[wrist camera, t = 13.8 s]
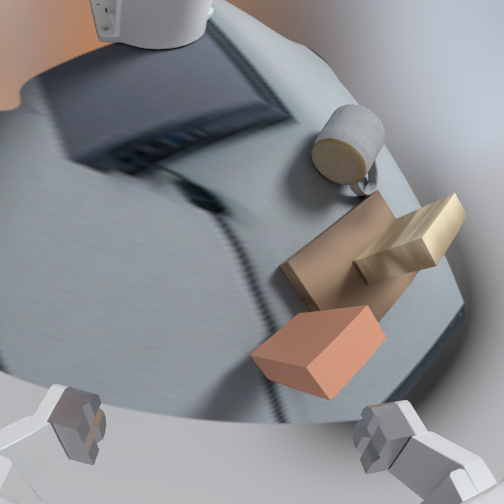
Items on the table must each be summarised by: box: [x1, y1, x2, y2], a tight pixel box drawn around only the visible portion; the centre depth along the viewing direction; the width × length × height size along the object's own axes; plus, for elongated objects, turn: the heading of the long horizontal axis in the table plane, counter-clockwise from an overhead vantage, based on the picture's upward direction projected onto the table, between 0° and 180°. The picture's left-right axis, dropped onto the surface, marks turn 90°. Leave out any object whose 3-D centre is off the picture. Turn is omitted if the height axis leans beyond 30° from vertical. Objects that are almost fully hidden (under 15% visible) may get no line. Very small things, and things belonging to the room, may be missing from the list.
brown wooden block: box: [279, 190, 467, 322], centre depth 30 cm, size 12×17×12 cm
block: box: [250, 305, 387, 400], centre depth 23 cm, size 3×6×10 cm, turn 128°
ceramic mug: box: [311, 105, 385, 196], centre depth 35 cm, size 11×8×8 cm
